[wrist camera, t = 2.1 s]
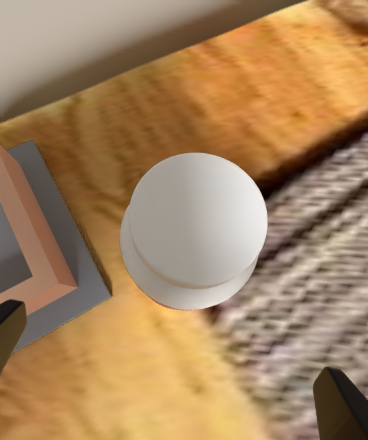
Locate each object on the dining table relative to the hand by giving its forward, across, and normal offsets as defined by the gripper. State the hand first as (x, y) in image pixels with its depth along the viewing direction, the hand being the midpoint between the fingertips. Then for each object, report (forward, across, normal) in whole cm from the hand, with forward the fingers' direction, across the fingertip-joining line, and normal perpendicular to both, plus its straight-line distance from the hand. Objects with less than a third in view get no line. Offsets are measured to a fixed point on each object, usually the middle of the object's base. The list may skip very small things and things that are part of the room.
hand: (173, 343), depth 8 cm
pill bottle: (+10, 0, +5) cm, 12 cm away
